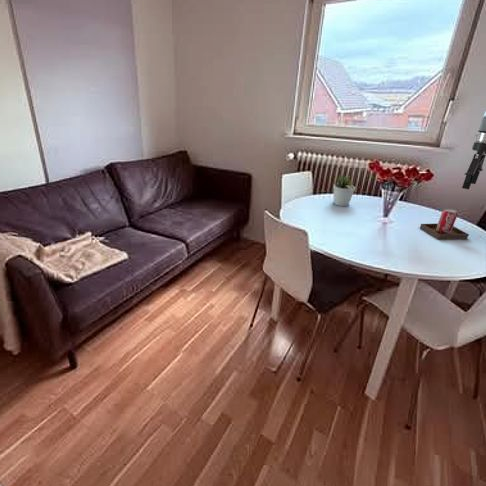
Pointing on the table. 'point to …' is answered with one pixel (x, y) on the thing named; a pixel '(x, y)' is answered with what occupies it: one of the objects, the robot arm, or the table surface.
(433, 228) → the tray
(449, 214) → the beverage can
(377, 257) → the table surface
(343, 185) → the potted plant
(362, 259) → the table surface
